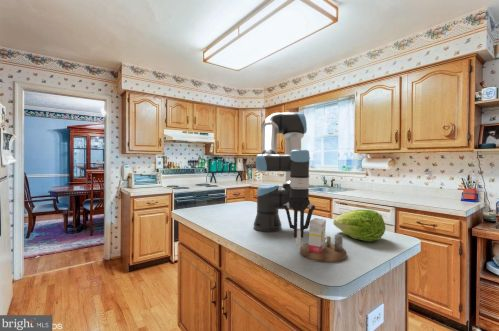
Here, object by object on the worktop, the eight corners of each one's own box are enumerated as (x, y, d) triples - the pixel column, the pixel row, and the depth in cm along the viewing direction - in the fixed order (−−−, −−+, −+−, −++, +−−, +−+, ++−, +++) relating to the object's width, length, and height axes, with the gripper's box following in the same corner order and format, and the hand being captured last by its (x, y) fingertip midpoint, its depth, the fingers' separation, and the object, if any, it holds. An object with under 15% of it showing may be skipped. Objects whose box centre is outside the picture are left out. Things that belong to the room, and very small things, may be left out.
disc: (302, 261, 94) (302, 241, 94) (298, 244, 112) (298, 227, 112) (352, 264, 92) (352, 243, 92) (340, 246, 110) (341, 229, 110)
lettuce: (346, 229, 138) (341, 204, 138) (393, 236, 118) (387, 206, 118) (327, 240, 128) (322, 213, 128) (375, 249, 108) (369, 216, 108)
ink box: (320, 254, 97) (321, 223, 97) (307, 251, 99) (308, 221, 99) (325, 247, 105) (326, 219, 104) (313, 244, 107) (314, 217, 106)
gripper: (283, 188, 99) (282, 247, 100) (317, 189, 98) (316, 249, 99) (282, 186, 107) (282, 241, 108) (314, 187, 106) (313, 242, 107)
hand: (298, 245), depth 103 cm, fingers closed
